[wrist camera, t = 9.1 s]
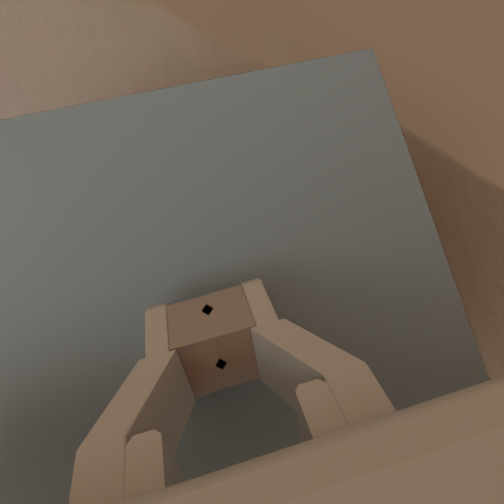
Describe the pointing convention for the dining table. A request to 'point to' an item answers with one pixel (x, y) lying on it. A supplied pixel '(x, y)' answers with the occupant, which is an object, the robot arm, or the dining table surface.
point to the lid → (213, 254)
